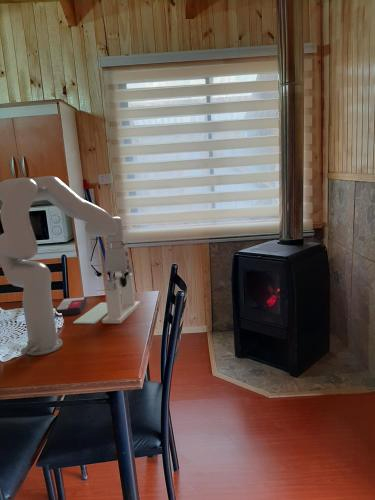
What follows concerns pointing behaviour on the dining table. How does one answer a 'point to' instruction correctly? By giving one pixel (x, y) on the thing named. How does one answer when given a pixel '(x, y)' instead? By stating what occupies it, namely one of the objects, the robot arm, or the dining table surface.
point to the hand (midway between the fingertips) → (119, 286)
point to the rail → (111, 283)
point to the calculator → (72, 306)
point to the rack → (114, 306)
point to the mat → (93, 314)
